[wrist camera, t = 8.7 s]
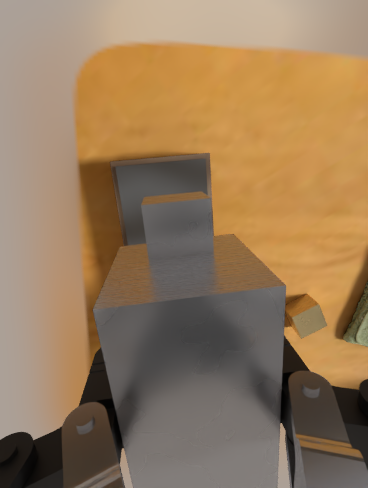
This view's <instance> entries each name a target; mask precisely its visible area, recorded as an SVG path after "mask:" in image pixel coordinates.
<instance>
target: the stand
mask: <svg viewBox="0 0 368 488" xmlns="http://www.w3.org/2000/svg"><path fill="white" fill-rule="evenodd" d="M110 165H111V171H112V177H113V183H114V189H115V195H116V201H117V207H118V213H119V219H120V225H121V231H122V237H123V243H124V246H129V245H138V244H146V237H145V230H144V223H143V216H142V208H141V204H142V201H143V199H144V197H150V196H160V195H170V194H180V193H190V192H200V191H202V192H203V193H205V194H206V195H207V196H209V197H210V198H211V208H212V191H211V171H210V153H203V154H192V155H180V156H169V157H158V158H146V159H135V160H124V161H112V162H110ZM212 227H213V211H212ZM213 236H214V231H213Z"/></svg>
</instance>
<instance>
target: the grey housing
mask: <svg viewBox="0 0 368 488" xmlns="http://www.w3.org/2000/svg"><path fill="white" fill-rule="evenodd" d="M141 208H142V216H143V223H144V230H145V237H146V244H138V245H129V246H120V248H119V250H118V253H117V255H116V257H115V259H114V262H113V264H112V266H111V269H110V271H109V273H108V276H107V278H106V280H105V283H104V285H103V287H102V289H101V292H100V294H99V296H98V299H97V301H96V303H95V306H94V308H93V313H94V318H95V322H96V327H97V331H98V335H99V340H100V344H101V349H102V353H103V357H104V362H105V366H106V371H107V375H108V379H109V384H110V388H111V393H112V397H113V401H114V406H115V410H116V414H117V419H118V423H119V428H120V432H121V436H122V441H123V445H124V450H125V454H126V458H127V463H128V467H129V471H130V476H131V480H132V484H133V488H277V484H278V461H279V437H280V414H281V391H282V367H283V344H284V320H285V297H286V285H285V284H284V283H283V282H282V281H281V280H280V279H279V278H278V277H277V276H276V275H275V274H274V273H273V272H272V271H271V270H270V269H269V268H268V267H267V266H266V265H265V264H264V263H263V262H262V261H261V260H260V259H259V258H257V257H256V256H255V255H254V254H253V253H252V252H251V251H250V250H249V249H248V248H247V247H246V246H245V245H244V244H243V243H242V242H241V241H240V240H239V239H238V238H237V237H236V236H235V235H234V234H228V235H219V236H213V227H212V208H211V198H210V197H209V196H207V195H206V194H205V193H203V192H202V191H200V192H190V193H180V194H170V195H160V196H150V197H144V199H143V201H142V204H141Z"/></svg>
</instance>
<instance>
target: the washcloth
mask: <svg viewBox="0 0 368 488" xmlns="http://www.w3.org/2000/svg"><path fill="white" fill-rule="evenodd" d="M358 304H359V305H358V307H357V308H356V309H357V310H356V312H355V314H354V316H353V319H352V322H351V323H350V324H349V326H348V329H347V332H346V333H345V334H344V338H343V339H344V340H345V341H347V342H350V343H354V344H360V345H363V346H367V347H368V282H367V284H366V287H365V289H364V293H363V295H362V297H361V300H360V302H358Z"/></svg>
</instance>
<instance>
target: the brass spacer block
mask: <svg viewBox="0 0 368 488" xmlns="http://www.w3.org/2000/svg"><path fill="white" fill-rule="evenodd" d="M285 313H286V316H287V318H288V320H289V322H290V324H291V326H292V328H293V329H294V330H295V331H296V333H297V334H298V335H299V336H300V338H301V339H302V338H304V337H306V336H308V335H310V334H312V333H314V332H316V331H318V330H320V329H322V328H324V327H326V326H327V323H326V321H325V318H324V316H323V313H322V311H321V308H320V306H319V304H318V303H317V302H316V301H315V300H314V299H313V298H311V297H310V296H309V295H308V294H306V295H304V296H302V297H300V298H298V299H296V300H294V301H292V302H290V303H288V304H286V305H285Z"/></svg>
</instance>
